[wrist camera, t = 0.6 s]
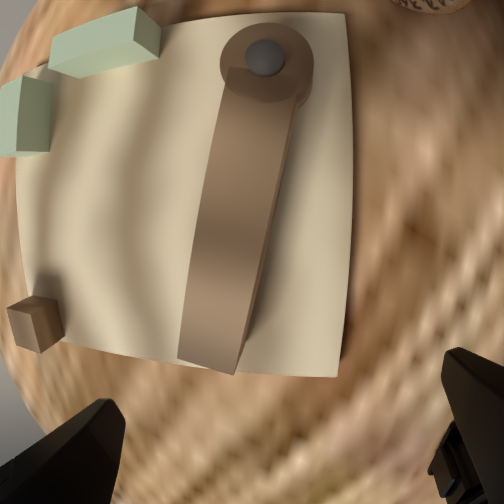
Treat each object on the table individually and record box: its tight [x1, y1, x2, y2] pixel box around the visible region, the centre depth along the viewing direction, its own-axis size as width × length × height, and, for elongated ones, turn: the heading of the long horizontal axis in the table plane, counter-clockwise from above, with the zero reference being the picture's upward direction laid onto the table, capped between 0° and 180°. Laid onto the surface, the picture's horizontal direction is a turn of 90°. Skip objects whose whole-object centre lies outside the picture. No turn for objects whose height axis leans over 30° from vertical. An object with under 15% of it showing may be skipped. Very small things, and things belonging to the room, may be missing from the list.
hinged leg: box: [177, 22, 314, 375], centre depth 14 cm, size 16×4×4 cm, turn 168°
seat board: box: [6, 12, 353, 377], centre depth 17 cm, size 23×21×4 cm
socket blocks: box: [0, 6, 162, 157], centre depth 15 cm, size 11×7×3 cm, turn 90°
